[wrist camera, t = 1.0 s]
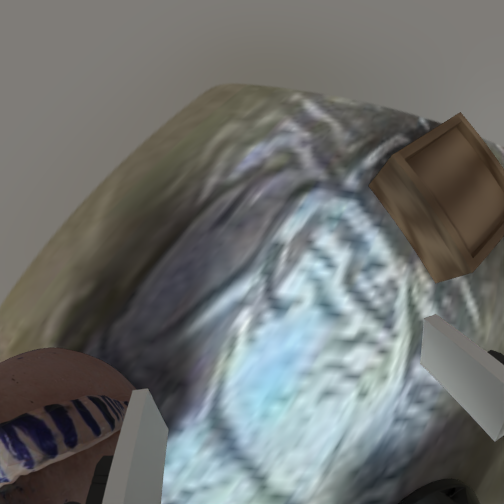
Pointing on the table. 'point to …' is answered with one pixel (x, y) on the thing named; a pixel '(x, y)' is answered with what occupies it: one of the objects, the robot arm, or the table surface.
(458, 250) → the walnut tray
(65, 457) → the ceramic pitcher
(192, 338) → the table surface
